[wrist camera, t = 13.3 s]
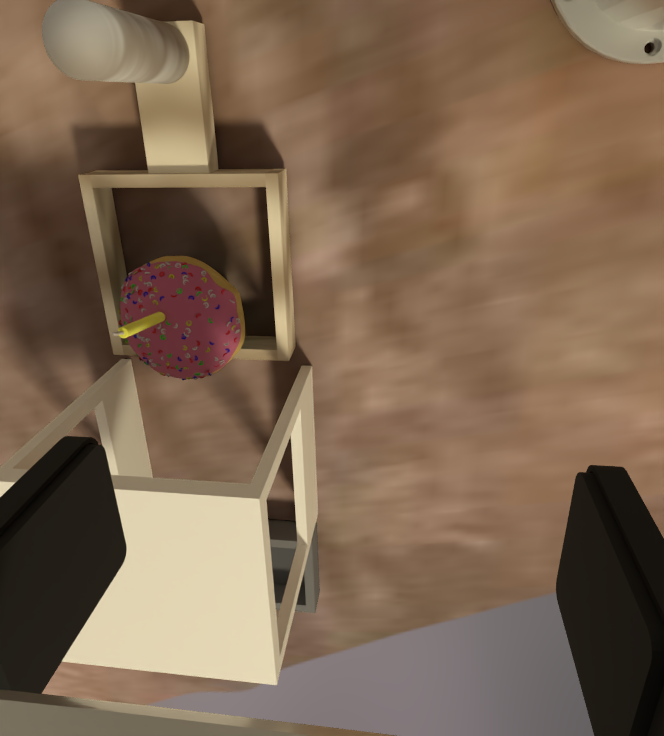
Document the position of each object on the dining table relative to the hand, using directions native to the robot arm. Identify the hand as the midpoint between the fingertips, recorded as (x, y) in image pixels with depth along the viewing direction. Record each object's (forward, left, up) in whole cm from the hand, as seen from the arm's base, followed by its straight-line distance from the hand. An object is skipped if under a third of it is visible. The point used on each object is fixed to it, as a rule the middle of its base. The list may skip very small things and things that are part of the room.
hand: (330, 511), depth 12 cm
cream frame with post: (-1, -14, -30) cm, 33 cm away
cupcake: (+6, -14, -31) cm, 34 cm away
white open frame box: (+18, -13, -30) cm, 38 cm away
